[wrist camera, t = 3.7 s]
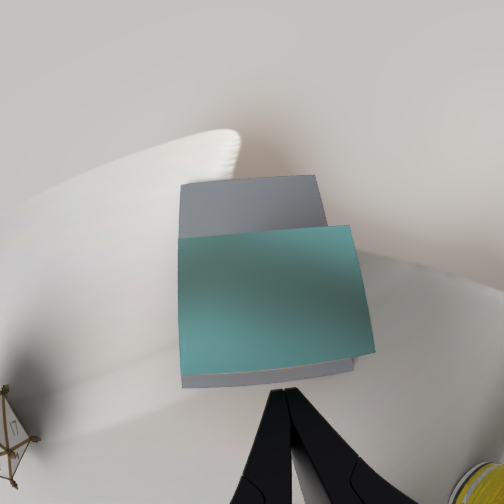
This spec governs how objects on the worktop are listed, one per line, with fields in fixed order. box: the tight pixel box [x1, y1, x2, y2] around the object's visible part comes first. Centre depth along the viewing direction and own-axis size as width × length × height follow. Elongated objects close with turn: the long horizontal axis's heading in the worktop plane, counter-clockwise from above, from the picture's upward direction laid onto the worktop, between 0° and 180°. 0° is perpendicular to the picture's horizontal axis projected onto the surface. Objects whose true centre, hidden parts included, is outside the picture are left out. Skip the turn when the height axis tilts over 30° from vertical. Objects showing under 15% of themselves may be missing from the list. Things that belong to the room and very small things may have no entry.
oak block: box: [178, 225, 375, 375], centre depth 13 cm, size 4×6×8 cm
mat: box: [179, 175, 354, 388], centre depth 18 cm, size 14×10×1 cm
